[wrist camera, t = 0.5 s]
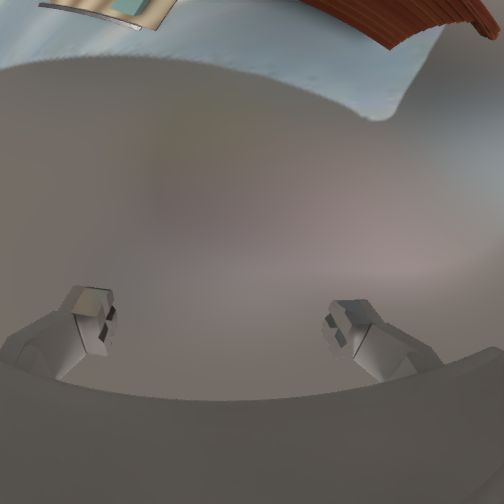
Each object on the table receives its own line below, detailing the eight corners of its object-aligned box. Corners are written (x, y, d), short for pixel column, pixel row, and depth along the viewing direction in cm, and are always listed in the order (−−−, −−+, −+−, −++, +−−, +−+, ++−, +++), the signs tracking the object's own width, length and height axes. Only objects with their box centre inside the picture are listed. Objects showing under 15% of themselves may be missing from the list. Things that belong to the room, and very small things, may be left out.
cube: (118, 8, 29) (109, 8, 25) (131, -14, 26) (124, -15, 23) (140, 15, 31) (133, 16, 28) (154, -6, 28) (148, -8, 25)
